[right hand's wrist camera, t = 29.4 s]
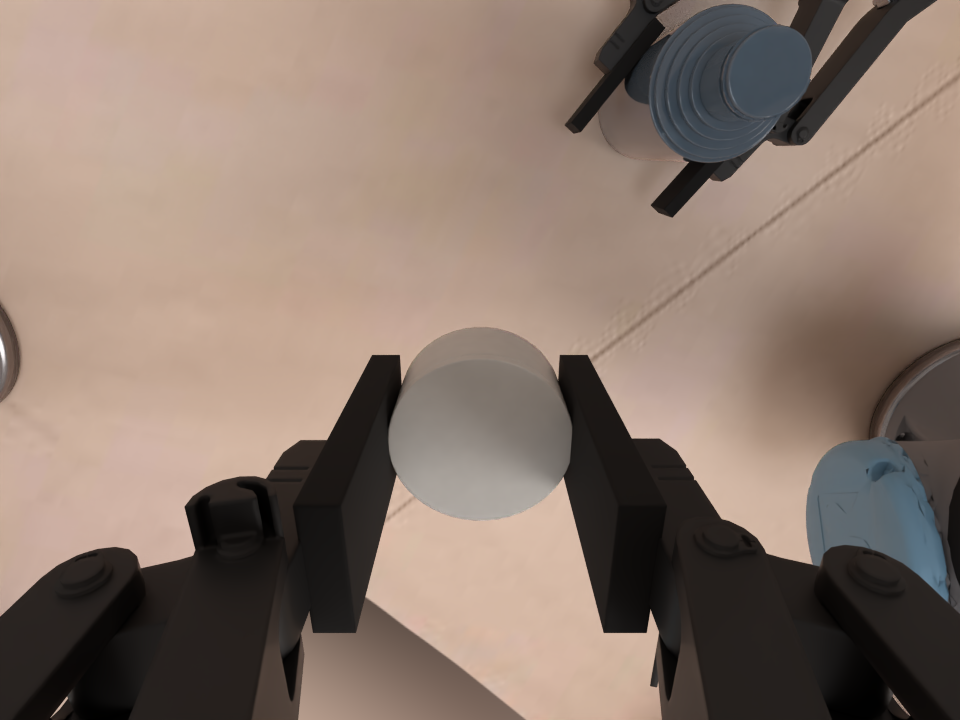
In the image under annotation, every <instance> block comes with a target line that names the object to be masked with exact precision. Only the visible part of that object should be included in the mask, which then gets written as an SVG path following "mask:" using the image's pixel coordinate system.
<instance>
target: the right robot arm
mask: <svg viewBox="0 0 960 720" xmlns="http://www.w3.org/2000/svg"><path fill="white" fill-rule="evenodd" d="M18 371H19V348H18V344H17V339H16V336H15V333H14V330H13V328H12V325H11V323H10V321H9V319H8V317H7V315H6V314H5V312H4V310H3V309H2V307H1V306H0V402H1V401H2V400H3V399H4V398H5V397H6V396H7V395H8V394H9V393H10V391H11V390H12V388H13V386H14V384H15V382H16V379H17V376H18ZM558 382H559V385H560V388H561V391H562V394H563V397H564V400H565V403H566V406H567V409H568V412H569V415H570V418H571V422H572V440H571V454H570V463H569V466H568V468H567V471H566V472H565V474H564V480H565V484H566V488H567V492H568V496H569V500H570V503H571V507H572V511H573V515H574V519H575V523H576V527H577V531H578V535H579V538H580V542H581V546H582V550H583V554H584V558H585V562H586V566H587V570H588V573H589V577H590V581H591V585H592V589H593V593H594V597H595V601H596V605H597V608H598V612H599V616H600V620H601V624H602V628H603V632H604V633H647V627H648V621H649V615H650V609H651V611H652V614H653V617H654V619H655V622H656V625H657V627H658V630H659V637H658V642H657V648H656V654H655V660H654V666H653V671H652V678H651V684H650V686H653V687H657V685H658V682H659V693H660V703H661V713H662V720H960V613H958V612H957V611H956V610H955V609H954V608H953V607H952V606H951V605H950V604H949V603H948V602H947V601H946V600H945V599H944V598H943V597H941V596H940V595H939V594H938V593H937V592H936V591H935V590H934V589H933V588H932V587H931V586H930V585H929V584H928V583H927V582H926V581H925V580H923V579H922V578H921V577H920V576H919V575H918V574H917V573H915V572H914V571H913V570H911V569H910V568H909V567H907V566H906V565H905V564H903V563H902V562H900V561H898V560H896V559H894V558H892V557H890V556H888V555H886V554H884V553H881V552H878V551H876V550H872V549H868V548H865V547H860V546H852V545H841V546H835V547H831V548H830V549H828V550H827V551H826V552H825V553H824V554H823V557H822V560H821V563H820V566H815V565H811V564H806V563H802V562H797V561H793V560H788V559H784V558H780V557H776V556H773V555H769V554H766V552H765V549H764V548H763V546H762V545H761V544H760V542H759V541H758V539H757V538H756V537H755V536H753V535H752V534H751V533H750V532H748V531H747V530H746V529H744V528H743V527H740V526H738V525H736V524H734V523H732V522H730V521H727V520H723V519H721V518H720V516H719V515H718V513H717V511H716V510H715V508H714V507H713V505H712V504H711V502H710V501H709V499H708V498H707V496H706V495H705V493H704V492H703V490H702V489H701V487H700V486H699V484H698V483H697V481H696V480H694V477H693V475H692V473H691V472H690V470H689V469H688V468H686V464H685V463H684V461H683V460H682V458H681V457H680V455H679V454H678V452H677V451H676V450H675V449H673V448H672V447H670V446H669V445H668V444H666V443H665V442H663V441H662V440H661V439H632V438H631V436H630V435H629V433H628V431H627V429H626V427H625V425H624V423H623V421H622V419H621V418H620V416H619V414H618V412H617V410H616V408H615V406H614V404H613V402H612V401H611V399H610V397H609V395H608V393H607V391H606V389H605V387H604V385H603V384H602V382H601V380H600V378H599V376H598V374H597V372H596V370H595V368H594V367H593V365H592V363H591V361H590V359H589V357H588V355H560V361H559V377H558ZM401 386H402V383H401V366H400V355H372V356H371V358H370V360H369V362H368V364H367V366H366V368H365V370H364V372H363V373H362V375H361V377H360V379H359V381H358V383H357V385H356V387H355V389H354V390H353V392H352V394H351V396H350V398H349V400H348V402H347V404H346V406H345V407H344V409H343V411H342V413H341V415H340V417H339V419H338V421H337V423H336V424H335V426H334V428H333V430H332V432H331V434H330V436H329V438H328V440H300V441H299V442H297V443H296V444H295V445H293V446H292V447H290V448H289V449H288V450H286V451H285V452H283V454H282V455H281V457H280V458H279V460H278V461H277V463H276V464H275V466H274V470H272V471H271V472H270V474H269V475H268V477H267V478H266V479H264V478H260V477H256V476H246V477H236V478H231V479H226V480H222V481H220V482H217V483H215V484H213V485H210V486H208V487H206V488H204V489H203V490H201V491H200V492H198V493H197V494H195V495H194V496H193V497H192V498H191V499H190V500H189V502H188V503H187V504H186V506H185V510H186V514H187V518H188V522H189V526H190V530H191V534H192V538H193V542H194V546H195V553H194V555H193V556H191V557H188V558H184V559H181V560H177V561H172V562H168V563H163V564H159V565H154V566H150V567H145V568H140V565H139V562H138V558H137V556H136V555H135V554H134V553H133V552H131V551H130V550H129V549H124V548H118V547H111V548H102V549H96V550H93V551H89V552H87V553H83V554H80V555H77V556H75V557H73V558H71V559H69V560H67V561H65V562H63V563H61V564H60V565H58V566H56V567H55V568H54V569H52V570H51V571H50V572H48V573H47V574H46V575H44V576H43V577H42V578H41V579H40V580H39V581H37V582H36V583H35V584H34V585H33V586H32V587H31V588H30V589H29V590H28V591H27V592H26V593H25V594H24V595H23V596H22V597H21V598H20V599H18V600H17V601H16V602H15V603H14V604H13V605H12V606H11V607H10V608H9V609H8V610H7V611H6V612H5V613H4V614H3V615H2V616H1V617H0V720H298V714H299V704H300V694H301V684H302V673H303V663H304V649H303V642H302V637H301V632H302V629H303V626H304V624H305V621H306V618H307V616H308V613H309V611H310V617H311V623H312V629H313V633H356V630H357V626H358V623H359V619H360V615H361V611H362V607H363V603H364V599H365V595H366V592H367V588H368V584H369V580H370V576H371V572H372V568H373V564H374V560H375V557H376V553H377V549H378V545H379V541H380V537H381V533H382V529H383V525H384V522H385V518H386V514H387V510H388V506H389V502H390V498H391V494H392V491H393V487H394V483H395V479H396V475H397V473H396V472H395V470H394V467H393V465H392V462H391V459H390V454H389V444H388V429H389V424H390V420H391V416H392V413H393V410H394V407H395V404H396V401H397V398H398V395H399V392H400V389H401ZM893 693H894V695H895V696H896V697H897V699H898V700H899V701H900V702H901V704H902V705H903V706H904V708H905V709H906V710H907V711H908V713H909V714H910V715H911V716H909V715H908V714H907V713H906V712H905V711H904V710H903V709H902V708H901V707H900V706H899V705H898V703H897V702H896V701H895V700H894V698H893V697H892V696H893ZM66 697H68V699H67V701H66V702H65V703H64V705H63V706H62V707H61V709H60V710H59V711H58V712H57V713H56V714H55V715H53V713H54V712H55V711H56V710H57V708H58V707H59V706H60V704H61V703H62V702H63V701H64V699H65V698H66ZM52 715H53V716H52ZM51 716H52V717H51ZM50 717H51V718H50Z"/></svg>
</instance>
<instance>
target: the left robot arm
mask: <svg viewBox="0 0 960 720" xmlns="http://www.w3.org/2000/svg"><path fill="white" fill-rule="evenodd" d="M678 1H679V0H630V9H629V12H628V14H627V15H626V17H625V18H624V19H623V21H622V22H621V23H620V25H619V26H618V27H617V28H616V30H615V31H614V32H613V33H612V35H611V36H610V37H609V39H608V40H607V41H606V42H605V44H604V45H603V46H602V48H601V49H600V50H599V51H598V53H597V55H596V58H595V61H594V64H595V65H596V66H597V67H598V68H599V69H600V70H601V71H602V72H603V73H604V74H605V75H604V76H603V78H602V79H601V80H600V81H599V83H598V84H597V85H596V86H595V88H594V89H593V90H592V91H591V93H590V94H589V95H588V96H587V98H586V99H585V100H584V101H583V103H582V104H581V105H580V107H579V108H578V109H577V110H576V112H575V113H574V114H573V115H572V117H571V118H570V119H569V120H568V122H567V123H566V124H565V126H566V127H567V128H568V129H569V130H570V131H572V132H573V133H578V132H581V131H582V130H583V129H584V127H585V126H586V125H587V124H588V122H589V121H590V120H591V119H592V118H593V116H594V115H595V114H596V113H597V111H598V110H599V109H600V108H601V106H602V105H603V104H604V103H605V102H606V100H607V99H608V98H609V97H610V95H611V94H612V93H613V92H614V90H615V89H616V88H617V87H618V86H619V84H620V83H621V82H622V81H623V79H624V78H625V77H626V76H627V74H628V73H629V72H630V71H631V70H632V68H633V67H634V66H635V65H636V63H637V62H638V61H639V60H640V58H641V57H642V56H643V55H644V53H645V52H646V51H647V50H648V49H649V47H650V46H651V45H652V44H653V42H654V41H655V40H656V39H657V38H658V36H659V35H660V34H661V33H662V31H663V30H664V29H665V27H664V26H663V25H662V24H661V23H660V22H659V21H658V20H657V19H656V18H655V17H656V16H657V15H658V14H660V13H661V12H663V11H664V10H666V9H667V8H669V7H670V6H672V5H673V4H675V3H676V2H678ZM847 1H848V0H799V2H798V5H799V9H798V11H797V13H796V15H795V17H794V19H793V21H792V23H791V25H790V27H791V28H793V29H795V30H796V31H798V32H799V33H800V34H801V35H802V36H803V37H804V38H805V39H806V41H807V43H808V45H809V47H810V50H811V55H812V67H813V65H814V63H815V61H816V59H817V57H818V55H819V53H820V51H821V49H822V47H823V45H824V44H825V42H826V40H827V38H828V36H829V34H830V32H831V30H832V28H833V26H834V24H835V22H836V20H837V18H838V16H839V14H840V13H841V11H842V9H843V7H844V5H845V4H846V3H847ZM935 1H937V0H873V1H872V2H873V5H874V6H875V7H874V8H872V9H871V10H870V11H869V12H868V13H866V14H865V15H864V16H863V17H862V18H861V19H860V20H859V22H858V23H857V24H856V25H855V26H854V27H853V29H852V30H851V31H850V33H849V34H848V35H847V36H846V38H845V39H844V40H843V41H842V43H841V44H840V45H839V46H838V48H837V49H836V50H835V52H834V53H833V54H832V55H831V57H830V58H829V59H828V60H827V62H826V63H825V64H824V66H823V67H822V68H821V69H820V71H819V72H818V73H817V74H816V76H815V77H814V78H813V79H812V81H811V82H810V83H809V86H808V88H807V90H806V92H805V93H804V95H803V96H802V97H801V99H800V100H799V102H798V103H797V104H795V105H794V106H793V107H792V108H791V109H790V110H789V111H788V112H786V113H784V114H782V115H781V116H780V118H779V119H778V121H777V122H776V124H775V126H774V127H773V128H772V129H771V131H770V132H769V133H768V134H767V135H766V136H765V137H764V138H763V139H762V140H761V141H760V142H759V143H758V144H757V145H755V146H754V147H753V148H751V149H750V150H748V151H747V152H745V153H743V154H741V155H739V156H737V157H735V158H732V159H729V160H726V161H720V162H712V163H703V162H689V163H688V164H687V165H686V166H685V168H684V169H683V170H682V171H681V172H680V173H679V174H678V175H677V176H676V178H675V179H674V180H673V181H672V182H671V183H670V184H669V185H668V186H667V188H666V189H665V190H664V191H663V192H662V193H661V194H660V195H659V196H658V198H657V199H656V200H655V201H654V202H653V203H652V204H651V206H652V207H653V208H654V209H655V210H656V211H657V212H658V213H661V214H664V215H666V216H669V217H673V216H674V215H675V214H676V213H677V212H678V211H679V210H680V209H681V208H682V207H683V206H684V205H685V203H686V202H687V201H688V200H689V199H690V198H691V197H692V196H693V195H694V194H695V193H696V192H697V190H698V189H699V188H700V187H701V186H702V185H703V184H704V183H705V182H706V181H707V180H708V179H709V178H711V179H712V180H714V181H724V180H726V179H727V178H729V177H731V176H732V175H733V174H734V173H735V172H736V170H737V169H738V168H739V167H740V166H741V165H742V164H743V163H744V162H745V161H746V160H747V159H748V158H749V157H750V156H751V155H752V153H753V152H754V151H755V150H756V149H757V148H758V147H759V146H760V145H761V144H762V143H763V142H764V141H766V140H768V141H770V142H772V143H773V144H774V145H776V146H793V145H804V144H806V143H807V142H808V141H810V139H811V138H812V137H813V136H814V135H815V133H816V132H817V131H818V130H819V128H820V127H821V126H822V125H823V124H824V122H825V121H826V120H827V119H828V117H829V116H830V115H831V114H832V113H833V111H834V110H835V109H836V108H837V106H838V105H839V104H840V103H841V102H842V100H843V99H844V98H845V97H846V95H847V94H848V93H849V92H850V91H851V89H852V88H853V87H854V86H855V84H856V83H857V82H858V81H859V80H860V78H861V77H862V76H863V75H864V73H865V72H866V71H867V70H868V69H869V67H870V66H871V65H872V64H873V62H874V61H875V60H876V59H877V58H878V56H879V55H880V54H881V53H882V52H883V50H884V49H885V48H886V47H887V45H888V44H889V43H890V42H891V41H892V39H893V38H894V37H895V36H896V34H897V33H898V32H899V31H900V30H901V28H902V27H903V26H904V25H905V23H906V22H907V21H909V20H910V19H912V18H913V17H914V16H916V15H917V14H919V13H920V12H921V11H923V10H924V9H926V8H927V7H928V6H930V5H931V4H933V3H934V2H935ZM806 527H807V538H808V544H809V550H810V555H811V559H812V563H813V565H815V566H820V563H821V560H822V557H823V554H824V553H825V552H826V551H827V550H828V549H830V548H831V547H835V546H841V545H852V546H860V547H865V548H868V549H872V550H876V551H878V552H881V553H884V554H886V555H888V556H890V557H892V558H894V559H896V560H898V561H900V562H902V563H903V564H905V565H906V566H907V567H909V568H910V569H911V570H913V571H914V572H915V573H917V574H918V575H919V576H920V577H921V578H922V579H923V580H925V581H926V582H927V583H928V584H929V585H930V586H931V587H932V588H933V589H934V590H935V591H936V592H937V593H938V594H939V595H940V596H941V597H943V598H944V599H945V600H946V601H947V602H948V603H949V604H950V605H951V606H952V607H953V608H954V609H955V610H956V611H957V612H958V613H960V339H959V340H956V341H953V342H951V343H948V344H945V345H943V346H941V347H939V348H937V349H935V350H933V351H931V352H930V353H928V354H926V355H925V356H923V357H922V358H920V359H918V360H917V361H916V362H914V363H913V364H912V365H911V366H909V367H908V368H907V369H906V370H905V371H904V372H902V373H901V375H900V376H899V377H898V378H897V379H896V380H895V381H894V382H893V383H892V384H891V386H890V387H889V388H888V389H887V391H886V392H885V394H884V395H883V397H882V399H881V400H880V402H879V404H878V406H877V408H876V410H875V413H874V416H873V418H872V422H871V427H870V438H869V440H857V441H848V442H844V443H841V444H839V445H837V446H835V447H833V448H832V449H831V450H829V451H828V452H827V453H826V454H825V455H824V456H823V457H822V459H821V460H820V462H819V463H818V465H817V467H816V469H815V471H814V473H813V475H812V481H811V485H810V488H809V490H808V495H807V505H806Z"/></svg>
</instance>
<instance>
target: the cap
mask: <svg viewBox="0 0 960 720" xmlns="http://www.w3.org/2000/svg"><path fill="white" fill-rule="evenodd" d="M571 440H572V422H571V418H570V415H569V412H568V409H567V406H566V403H565V400H564V397H563V394H562V391H561V388H560V385H559V382H558V380H557V377H556V374H555V372H554V370H553V368H552V366H551V364H550V363H549V361H548V360H547V359H546V357H545V356H544V355H543V354H542V353H541V352H540V351H539V350H538V349H537V348H536V347H535V346H534V345H533V344H531V343H530V342H528V341H527V340H525V339H524V338H522V337H520V336H518V335H516V334H513V333H511V332H508V331H505V330H501V329H497V328H488V327H473V328H465V329H461V330H457V331H453V332H451V333H448V334H446V335H443V336H441V337H440V338H438V339H436V340H434V341H433V342H431V343H430V344H429V345H427V346H426V347H425V348H424V349H423V350H422V351H421V352H420V353H419V354H418V355H417V356H416V358H415V359H414V360H413V362H412V363H411V365H410V367H409V368H408V370H407V373H406V375H405V378H404V380H403V383H402V386H401V389H400V392H399V395H398V398H397V401H396V404H395V407H394V410H393V413H392V416H391V420H390V424H389V429H388V444H389V454H390V459H391V462H392V465H393V467H394V470H395V472H396V473H397V475H398V477H399V479H400V480H401V482H402V483H403V484H404V486H405V487H406V488H407V489H408V490H409V491H410V492H411V493H412V494H413V495H414V496H415V497H416V498H417V499H418V500H420V501H421V502H422V503H424V504H425V505H427V506H429V507H430V508H432V509H434V510H436V511H438V512H440V513H443V514H446V515H449V516H452V517H455V518H460V519H466V520H475V521H481V520H496V519H501V518H506V517H510V516H513V515H516V514H519V513H521V512H523V511H525V510H528V509H530V508H531V507H533V506H535V505H536V504H538V503H539V502H541V501H542V500H543V499H544V498H546V497H547V496H548V495H549V494H550V493H551V492H552V491H553V490H554V489H555V488H556V486H557V485H558V484H559V482H560V481H561V480H562V478H563V476H564V474H565V472H566V471H567V468H568V466H569V463H570V454H571Z"/></svg>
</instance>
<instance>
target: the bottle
mask: <svg viewBox="0 0 960 720" xmlns="http://www.w3.org/2000/svg"><path fill="white" fill-rule="evenodd" d="M811 70H812V55H811V50H810V47H809V45H808V43H807V41H806V39H805V38H804V37H803V36H802V35H801V34H800V33H799V32H798V31H796V30H795V29H793V28H791V27H788V26H783V25H777V23H776V22H775V21H774V20H773V19H771V18H770V17H769V16H768V15H767V14H765V13H763V12H762V11H760V10H758V9H756V8H753V7H750V6H746V5H740V4H725V5H719V6H715V7H711V8H709V9H706V10H703V11H702V12H700V13H698V14H696V15H694V16H693V17H691V18H690V19H688V20H687V21H685V22H684V23H682V24H681V25H679V26H678V27H676V28H675V29H673V30H672V31H670V32H669V33H667V34H666V35H664V36H663V37H661V38H660V39H658V40H657V41H655V42H654V43H653V44H652V45H651V46H650V47H649V49H648V50H647V51H646V52H645V53H644V55H643V56H642V57H641V58H640V60H639V61H638V62H637V63H636V65H635V66H634V67H633V68H632V70H631V71H630V72H629V73H628V74H627V76H626V77H625V78H624V79H623V81H622V82H621V83H620V84H619V86H618V87H617V88H616V89H615V90H614V92H613V93H612V94H611V95H610V97H609V98H608V99H607V100H606V102H605V103H604V104H603V105H602V106H601V108H600V109H599V122H600V126H601V130H602V132H603V135H604V137H605V139H606V140H607V142H608V143H609V144H610V146H611V147H612V148H613V149H614V150H616V151H617V152H618V153H620V154H622V155H623V156H626V157H628V158H632V159H637V160H657V161H680V162H703V163H712V162H720V161H726V160H729V159H732V158H735V157H737V156H739V155H741V154H743V153H745V152H747V151H748V150H750V149H751V148H753V147H754V146H755V145H757V144H758V143H759V142H760V141H761V140H762V139H763V138H764V137H765V136H766V135H767V134H768V133H769V132H770V131H771V129H772V128H773V127H774V126H775V124H776V122H777V121H778V119H779V118H780V116H781V115H782V114H784V113H786V112H788V111H789V110H790V109H791V108H792V107H793V106H794V105H795V104H797V103H798V102H799V100H800V99H801V97H802V96H803V95H804V93H805V92H806V90H807V88H808V86H809V83H810V81H811V80H810V75H811Z"/></svg>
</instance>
